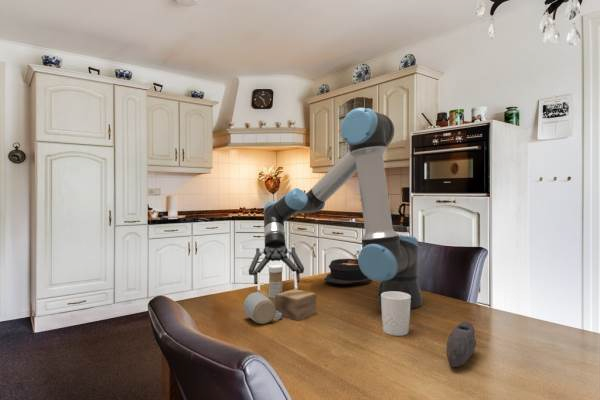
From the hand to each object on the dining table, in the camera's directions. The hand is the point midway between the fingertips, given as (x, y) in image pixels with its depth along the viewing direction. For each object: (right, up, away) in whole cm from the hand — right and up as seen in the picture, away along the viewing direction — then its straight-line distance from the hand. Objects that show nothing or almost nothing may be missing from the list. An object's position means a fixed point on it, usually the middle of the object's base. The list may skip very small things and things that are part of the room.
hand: (277, 291), depth 126 cm
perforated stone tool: (+44, -7, -38) cm, 59 cm away
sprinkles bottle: (-1, -5, +2) cm, 6 cm away
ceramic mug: (-3, -6, -12) cm, 13 cm away
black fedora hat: (+28, -5, +37) cm, 46 cm away
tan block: (+6, -5, -6) cm, 10 cm away
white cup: (+33, -6, -21) cm, 40 cm away
